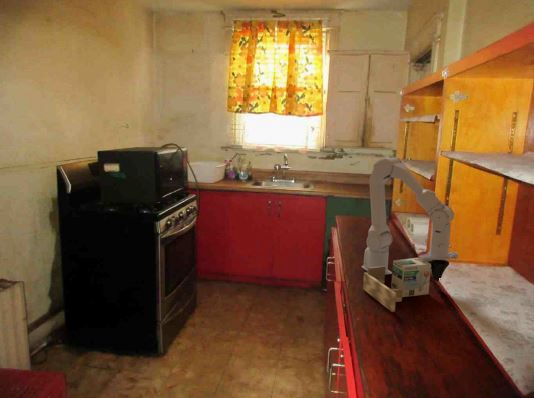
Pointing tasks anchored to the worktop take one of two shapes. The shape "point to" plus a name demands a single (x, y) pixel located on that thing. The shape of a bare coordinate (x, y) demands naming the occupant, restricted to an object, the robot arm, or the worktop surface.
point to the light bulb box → (411, 276)
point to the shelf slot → (381, 287)
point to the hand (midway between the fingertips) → (436, 279)
